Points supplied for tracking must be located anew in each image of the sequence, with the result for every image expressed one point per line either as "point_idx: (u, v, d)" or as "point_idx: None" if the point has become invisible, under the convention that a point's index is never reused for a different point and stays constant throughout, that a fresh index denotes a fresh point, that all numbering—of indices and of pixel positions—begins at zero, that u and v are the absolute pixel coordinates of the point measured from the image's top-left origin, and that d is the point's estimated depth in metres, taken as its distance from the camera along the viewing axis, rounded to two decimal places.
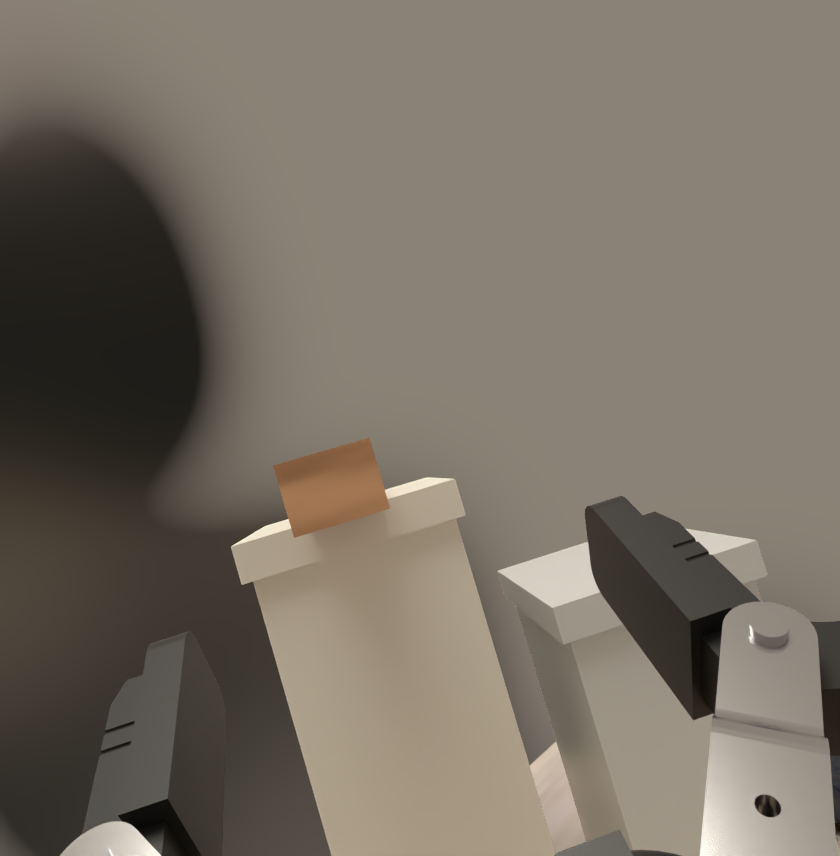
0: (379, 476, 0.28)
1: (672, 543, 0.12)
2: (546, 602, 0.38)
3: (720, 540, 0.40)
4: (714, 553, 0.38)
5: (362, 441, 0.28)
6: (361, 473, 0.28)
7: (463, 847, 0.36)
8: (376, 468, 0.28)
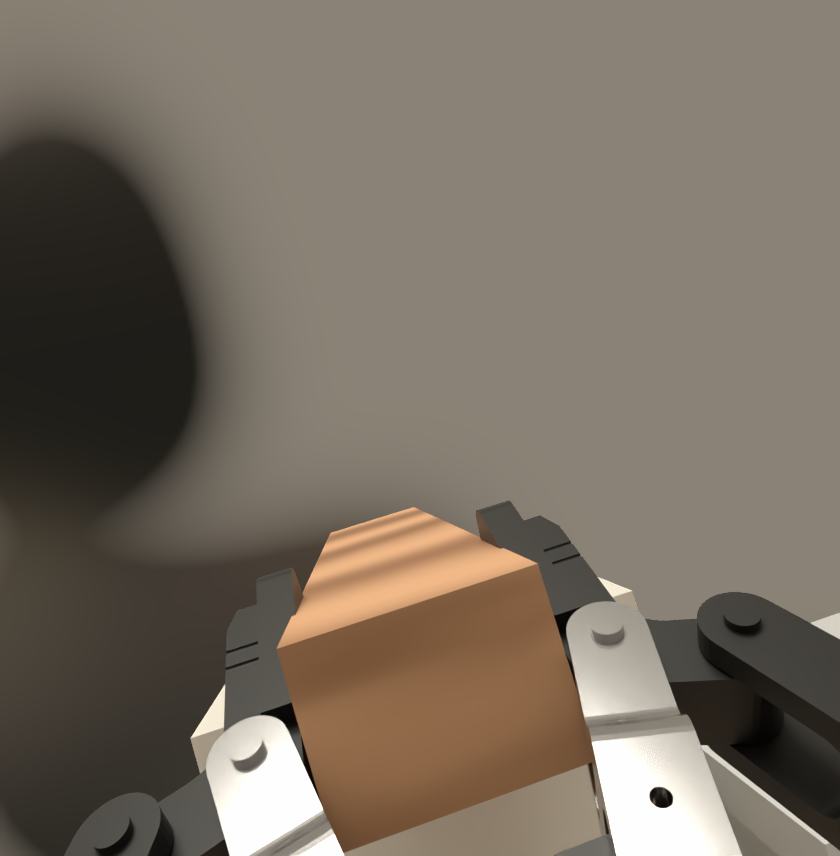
0: (567, 671, 0.10)
1: (549, 546, 0.13)
2: (794, 817, 0.20)
3: None
4: None
5: (520, 575, 0.10)
6: (518, 663, 0.10)
7: None
8: (559, 649, 0.10)
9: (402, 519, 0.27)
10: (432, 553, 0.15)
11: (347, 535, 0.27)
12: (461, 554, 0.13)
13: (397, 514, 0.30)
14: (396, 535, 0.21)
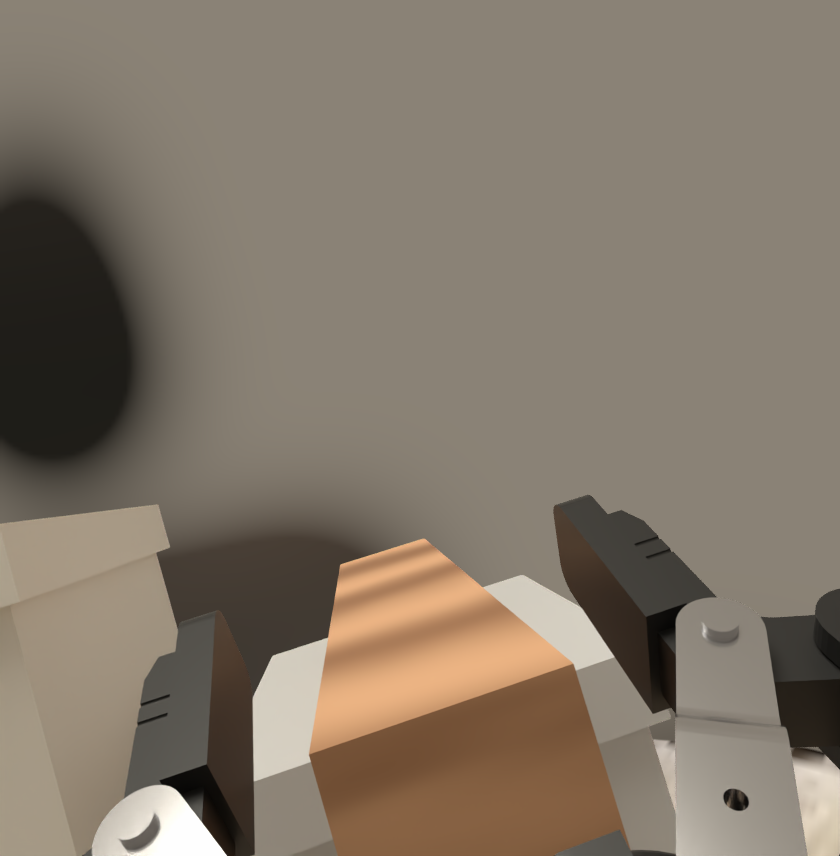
0: (604, 774, 0.10)
1: (636, 541, 0.13)
2: None
3: (590, 635, 0.21)
4: None
5: (556, 676, 0.10)
6: (554, 767, 0.10)
7: None
8: (595, 751, 0.10)
9: (414, 557, 0.27)
10: (455, 622, 0.15)
11: (359, 572, 0.27)
12: (487, 630, 0.13)
13: (408, 547, 0.30)
14: (412, 583, 0.21)
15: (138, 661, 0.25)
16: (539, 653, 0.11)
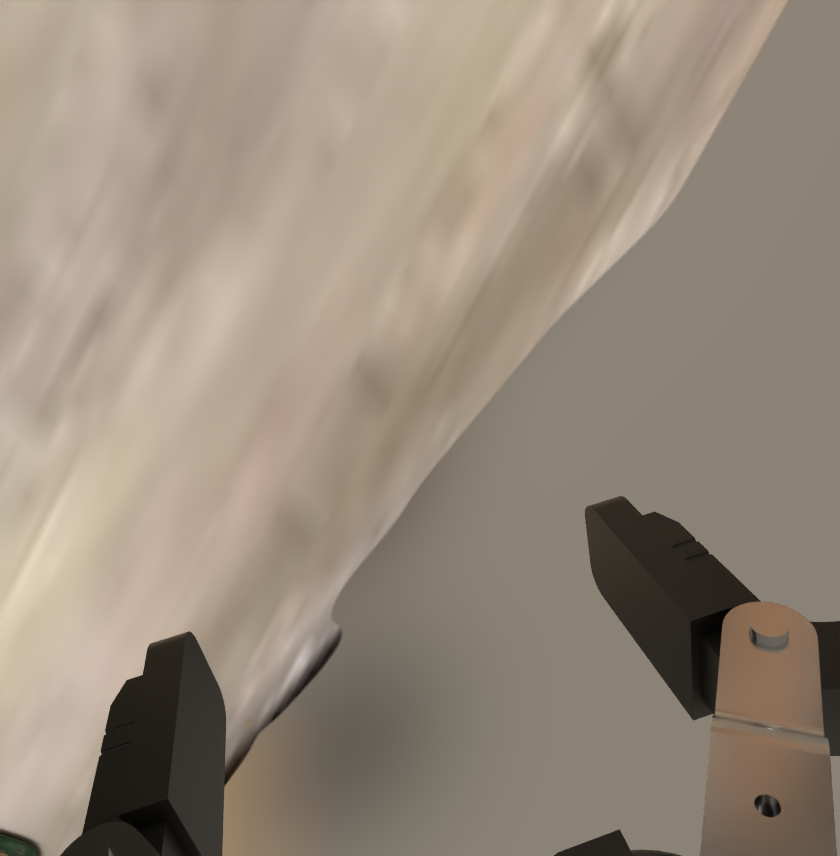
0: None
1: (672, 543, 0.12)
2: None
3: None
4: None
5: None
6: None
7: None
8: None
9: None
10: None
11: None
12: None
13: None
14: None
15: None
16: None
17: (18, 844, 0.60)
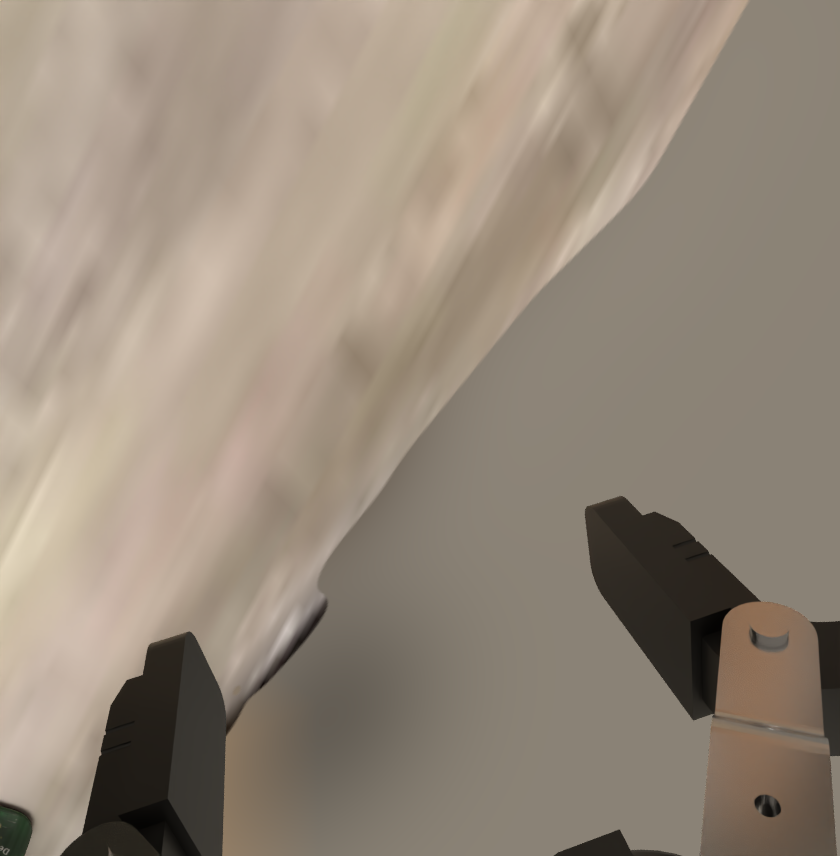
0: None
1: (672, 543, 0.12)
2: None
3: None
4: None
5: None
6: None
7: None
8: None
9: None
10: None
11: None
12: None
13: None
14: None
15: None
16: None
17: (10, 813, 0.61)
